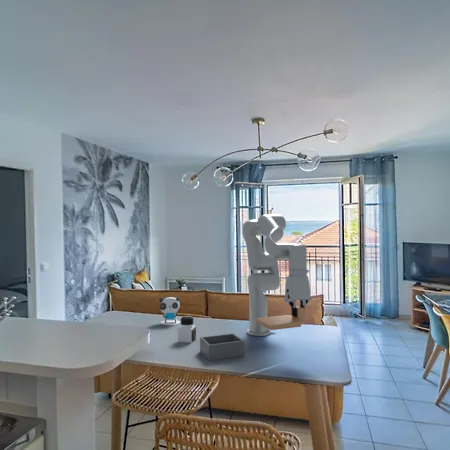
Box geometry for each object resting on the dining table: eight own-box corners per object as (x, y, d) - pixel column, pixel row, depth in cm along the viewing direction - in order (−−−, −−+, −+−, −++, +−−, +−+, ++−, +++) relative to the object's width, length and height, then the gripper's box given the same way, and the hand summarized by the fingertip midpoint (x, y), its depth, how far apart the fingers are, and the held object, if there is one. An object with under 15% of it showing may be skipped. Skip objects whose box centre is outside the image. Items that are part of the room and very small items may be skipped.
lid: (293, 319, 155) (293, 304, 155) (310, 326, 143) (310, 309, 143) (255, 323, 148) (255, 307, 148) (269, 331, 136) (269, 313, 136)
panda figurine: (158, 325, 201) (158, 299, 201) (161, 320, 212) (161, 295, 212) (179, 325, 201) (179, 299, 201) (181, 320, 212) (181, 295, 212)
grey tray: (233, 348, 160) (233, 333, 161) (244, 357, 149) (244, 340, 149) (200, 353, 155) (200, 337, 155) (208, 362, 143) (208, 345, 144)
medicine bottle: (191, 344, 167) (191, 319, 167) (177, 343, 168) (177, 318, 168) (196, 339, 174) (196, 315, 174) (182, 338, 175) (182, 314, 175)
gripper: (308, 271, 156) (309, 312, 155) (276, 272, 150) (276, 316, 149) (319, 272, 149) (319, 316, 148) (285, 274, 143) (286, 320, 142)
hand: (298, 315), depth 149 cm, fingers closed on lid, 2 cm apart
